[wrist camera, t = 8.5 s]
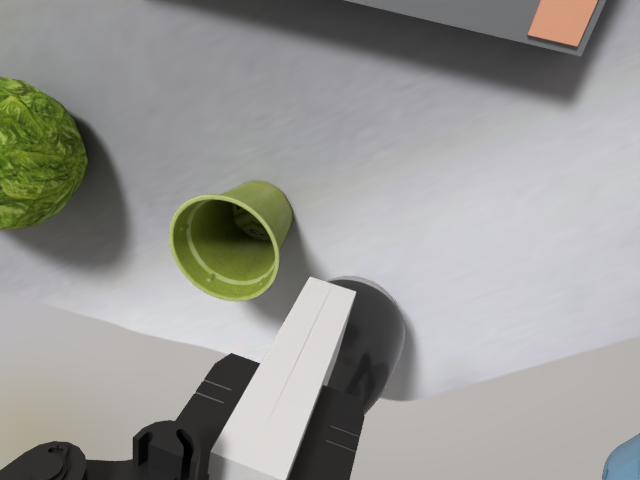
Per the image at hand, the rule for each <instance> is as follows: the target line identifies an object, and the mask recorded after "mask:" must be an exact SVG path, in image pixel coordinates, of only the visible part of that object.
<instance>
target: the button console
mask: <svg viewBox="0 0 640 480" xmlns="http://www.w3.org/2000/svg"><path fill="white" fill-rule="evenodd" d="M345 1H349V2H353V3H358V4H362V5H366V6H370V7H374V8H379V9H383V10H387V11H391V12H395V13H400V14H404V15H408V16H412V17H416V18H421V19H425V20H429V21H433V22H437V23H442V24H446V25H450V26H454V27H458V28H463V29H467V30H471V31H475V32H480V33H484V34H488V35H492V36H496V37H501V38H505V39H509V40H513V41H517V42H522V43H526V44H530V45H534V46H538V47H543V48H547V49H551V50H555V51H559V52H564V53H568V54H572V55H576V56H580V57H581V56H582V53H583V51H584V49H585V47H586V44H587V42H588V40H589V38H590V35H591V33H592V31H593V29H594V27H595V24H596V22H597V20H598V18H599V15H600V13H601V11H602V9H603V6H604V4H605V2H606V0H345Z"/></svg>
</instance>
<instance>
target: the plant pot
mask: <svg viewBox="0 0 640 480" xmlns="http://www.w3.org/2000/svg"><path fill="white" fill-rule="evenodd" d="M237 205H239V206H240V209H239V210H238V209H237ZM291 223H292V209H291V206H290V204H289V203H288V201H287V199H286V197H285V195H284V193H283V192H282V191H281V190H280V189H278V188H277V187H276V186H274V185H272V184H270V183H267V182H263V181H251V182H248V183H245V184H243V185H240V186H238V187H236V188H234V189H232V190H230V191H227V192H225V193H223V194H220V195H217V194H207V195H201V196H197V197H195V198H192V199H190V200H189V201H187V202H185V203H184V204H183V205H182V206H181V207H180V208H179V209H178V210H177V211H176V213H175V214H174V216H173V218H172V221H171V224H170V229H169V243H170V248H171V252H172V255H173V257H174V260H175V262H176V263H177V265H178V267H179V269H180V270H181V272H182V273H183V274H184V275H185V277H186V278H187V279H188V280H189V281H190V282H191V283H192V284H194V285H195V286H196V287H197V288H199V289H200V290H202V291H203V292H205V293H207V294H209V295H211V296H213V297H216V298H219V299H223V300H227V301H245V300H250V299H253V298H256V297H258V296H260V295H261V294H263V293H264V292H265V291H266V290H268V289H269V287H270V286H271V285H272V284H273V282H274V280H275V278H276V276H277V273H278V270H279V265H280V249H281V246H282V244H283V242H284V239H285V237H286V235H287V233H288V230H289V228H290V226H291ZM251 229H254V230H256V231H258V232H261V233H263V235H258V234H255V233H253V232H252V231H251Z"/></svg>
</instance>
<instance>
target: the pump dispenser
mask: <svg viewBox="0 0 640 480" xmlns="http://www.w3.org/2000/svg"><path fill="white" fill-rule="evenodd" d="M326 282H328V283H331V284H334V285H337V286H340V287H343V288H346V289H350V290H353V291H356V295H355V298H354V301H353V305H352V308H351V312H350V315H349V318H348V322H347V325H346V329H345V332H344V335H343V339H342V342H341V346H340V349H339V353H338V356H337V359H336V362H335V365H334V367H333V370H332V373H331V376H330V378H329V381H328V384H327V387H330V388H333V389H336V390H338V391H341V392H344V393H347V394H349V395H352V396H355V397H358V398H360V399H361V403H362V408H363V412H364V415H365V414H366V412H367V411H368V410H369V409H370V408H371V407H372V406H373V405H374V403H375V402H376V401H377V400H378V398H379V397H380V396H381V394H382V393H383V391H384V390H385V388H386V387H387V385H388V383H389V381H390V380H391V378H392V376H393V373H394V371H395V369H396V367H397V364H398V362H399V359H400V357H401V354H402V351H403V347H404V342H405V325H404V321H403V318H402V316H401V313H400V312H399V310H398V308H397V306H396V304H395V302H394V300H393V299H392V297H391V296H390V295H389V294H388V293H387V292H386V291H385V290H384V289H383V288H382V287H380V286H379V285H378V284H376V283H374V282H372V281H370V280H367V279H364V278H361V277H355V276H343V277H337V278H334V279H331V280H328V281H326Z"/></svg>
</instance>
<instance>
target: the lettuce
mask: <svg viewBox="0 0 640 480" xmlns="http://www.w3.org/2000/svg"><path fill="white" fill-rule="evenodd" d="M87 164H88V158H87V155H86V151H85V148H84V144H83V140H82V138H81V135H80V133H79V131H78V129H77V126H76V124H75V122H74V120H73V118H72V117H71V116H70V114H69V113H68V112H67V110H66V109H65V108H64V106H63V105H62V104H61V103H60V102H58V101H57V100H55V99H53V98H51V97H50V96H48V95H46V94H45V93H43V92H41V91H40V90H38V89H36V88H35V87H33V86H31V85H30V84H28V83H26V82H25V81H20V80H15V79H9V78H4V77H0V230H7V229H22V228H26V227H31V226H35V225H38V224H39V223H41V222H43V221H44V220H46V219H48V218H49V217H51V216H53V215H54V214H56V213H58V212H59V211H61V210H62V208H63V207H64V206H65V205H66V203H67V202H68V201H69V200H70V198H71V197H72V196H73V194H74V193H75V191H76V190H77V189H78V187H79V186H80V184H81V183H82V180H83V177H84V174H85V171H86V167H87Z"/></svg>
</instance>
